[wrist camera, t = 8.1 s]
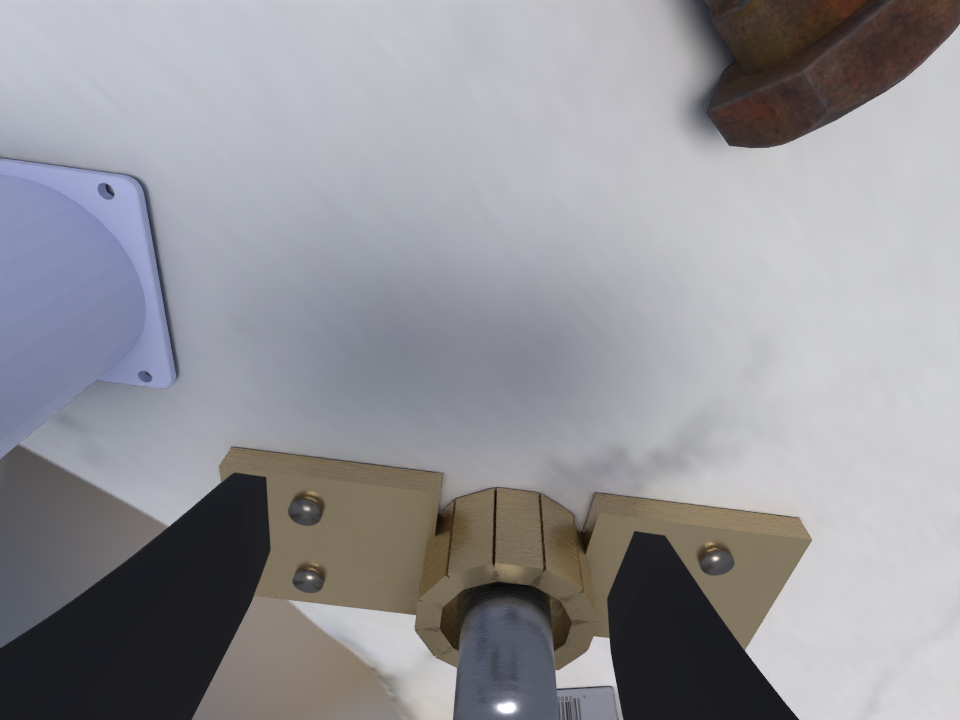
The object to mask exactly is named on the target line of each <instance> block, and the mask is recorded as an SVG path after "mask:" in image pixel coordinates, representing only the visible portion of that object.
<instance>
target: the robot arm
mask: <svg viewBox="0 0 960 720" xmlns="http://www.w3.org/2000/svg"><path fill="white" fill-rule="evenodd" d="M106 184H109V185H110V186H111V187H112V188H113V190H114V192H115V194H114V196H112V195H110V194H109V193H108V192H107V190H106V188H105V185H106ZM144 371H146V372H148V373H149V374H150V375H151V377H150V376H148V375H147V374H145V372H144ZM95 380H97V381H105V382H113V383H121V384H129V385H137V386H144V387H152V388H160V389H164V388H168V387H170V386H171V385H172V384H173V383H174V381H175V380H176V372H175V367H174V361H173V355H172V350H171V344H170V338H169V333H168V327H167V321H166V316H165V310H164V304H163V299H162V293H161V287H160V282H159V276H158V270H157V265H156V259H155V253H154V248H153V242H152V236H151V231H150V225H149V219H148V214H147V208H146V202H145V197H144V192H143V189H142V187H141V186H140V184H139V183H138V182H137V181H136V180H135V179H133V178H132V177H129V176H126V175H120V174H113V173H105V172H98V171H91V170H84V169H76V168H69V167H62V166H54V165H47V164H40V163H32V162H25V161H18V160H11V159H3V158H0V459H1V458H2V457H3V456H4V455H6V454H7V453H8V452H9V451H10V450H11V449H13V448H14V447H15V446H16V445H18V444H19V443H20V442H21V441H23V440H24V439H25V438H26V437H27V436H29V435H30V434H31V433H32V432H33V431H35V430H36V429H37V428H38V427H40V426H41V425H42V424H43V423H44V422H46V421H47V420H48V419H49V418H50V417H52V416H53V415H54V414H55V413H57V412H58V411H59V410H60V409H61V408H63V407H64V406H65V405H66V404H67V403H69V402H70V401H71V400H72V399H74V398H75V397H76V396H77V395H78V394H80V393H81V392H82V391H83V390H84V389H86V388H87V387H88V386H89V385H91V384H92V383H93V382H94V381H95ZM270 551H271V547H270V530H269V514H268V498H267V481H266V477H263V476H256V475H249V474H243V473H236V472H234V473H233V474H231V475H230V476H228V477H227V478H226V479H225V480H224V481H223V482H221V483H220V484H219V485H218V486H217V487H216V488H214V489H213V490H212V491H211V492H210V493H209V494H207V495H206V496H205V497H204V498H203V499H201V500H200V501H199V502H198V503H197V504H196V505H194V506H193V507H192V508H191V509H190V510H188V511H187V512H186V513H185V514H184V515H183V516H181V517H180V518H179V519H178V520H177V521H175V522H174V523H173V524H172V525H171V526H169V527H168V528H167V529H166V530H164V531H163V532H162V533H161V534H159V535H158V536H157V537H156V538H154V539H153V540H152V541H151V542H149V543H148V544H147V545H146V546H144V547H143V548H142V549H141V550H139V551H138V552H137V553H136V554H134V555H133V556H132V557H130V558H129V559H128V560H127V561H125V562H124V563H123V564H121V565H120V566H119V567H117V568H116V569H115V570H113V571H112V572H110V573H109V574H108V575H106V576H105V577H104V578H102V579H101V580H100V581H98V582H97V583H96V584H94V585H93V586H92V587H90V588H89V589H88V590H86V591H85V592H84V593H82V594H81V595H80V596H78V597H76V598H75V599H74V600H72V601H71V602H69V603H68V604H66V605H65V606H64V607H62V608H61V609H59V610H58V611H56V612H55V613H53V614H52V615H51V616H49V617H48V618H46V619H45V620H43V621H42V622H40V623H39V624H37V625H36V626H34V627H33V628H31V629H30V630H28V631H26V632H25V633H23V634H22V635H20V636H19V637H17V638H16V639H14V640H13V641H11V642H9V643H8V644H6V645H5V646H3V647H1V648H0V720H192V718H193V716H194V714H195V712H196V710H197V707H198V706H199V704H200V702H201V700H202V698H203V696H204V694H205V692H206V690H207V688H208V686H209V684H210V682H211V681H212V679H213V677H214V675H215V673H216V671H217V669H218V667H219V665H220V663H221V661H222V659H223V657H224V655H225V653H226V651H227V649H228V647H229V645H230V643H231V641H232V639H233V638H234V636H235V633H236V631H237V630H238V627H239V626H240V624H241V622H242V620H243V617H244V615H245V614H246V612H247V610H248V607H249V606H250V604H251V601H252V599H253V596H254V594H255V591H256V589H257V586H258V583H259V581H260V578H261V576H262V573H263V570H264V567H265V565H266V562H267V559H268V556H269V554H270ZM607 607H608V623H609V636H610V647H611V655H612V661H613V667H614V672H615V677H616V683H617V688H618V694H619V699H620V704H621V709H622V715H623V720H799V719H798V718H797V717H796V715H795V714H794V713H793V712H792V711H791V709H790V708H789V707H788V706H787V705H786V703H785V702H784V701H783V700H782V698H781V697H780V696H779V695H778V693H777V692H776V691H775V689H774V688H773V687H772V686H771V684H770V683H769V682H768V681H767V679H766V678H765V677H764V676H763V674H762V673H761V672H760V670H759V669H758V668H757V666H756V665H755V664H754V662H753V661H752V660H751V658H750V657H749V656H748V654H747V653H746V652H745V650H744V649H743V648H742V646H741V645H740V643H739V642H738V641H737V639H736V638H735V637H734V635H733V634H732V632H731V631H730V630H729V628H728V627H727V625H726V624H725V623H724V621H723V620H722V618H721V617H720V616H719V614H718V613H717V611H716V610H715V608H714V607H713V606H712V604H711V603H710V601H709V600H708V598H707V597H706V595H705V594H704V592H703V591H702V589H701V588H700V587H699V585H698V584H697V582H696V581H695V579H694V578H693V576H692V575H691V573H690V572H689V570H688V569H687V567H686V566H685V564H684V563H683V561H682V560H681V558H680V557H679V555H678V554H677V552H676V551H675V549H674V548H673V546H672V545H671V543H670V542H669V540H668V539H667V538H666V536H665V535H658V534H651V533H645V532H638V531H634V533H633V536H632V538H631V541H630V543H629V546H628V548H627V551H626V553H625V555H624V558H623V560H622V563H621V565H620V568H619V570H618V573H617V575H616V577H615V580H614V582H613V585H612V587H611V590H610V592H609V595H608V597H607Z"/></svg>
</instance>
